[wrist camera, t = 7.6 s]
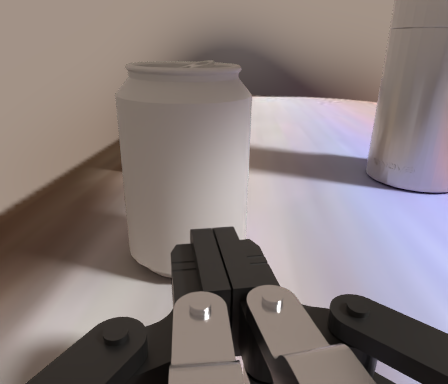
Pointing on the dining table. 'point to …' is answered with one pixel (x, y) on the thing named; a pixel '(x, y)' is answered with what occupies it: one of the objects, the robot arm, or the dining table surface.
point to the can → (182, 154)
